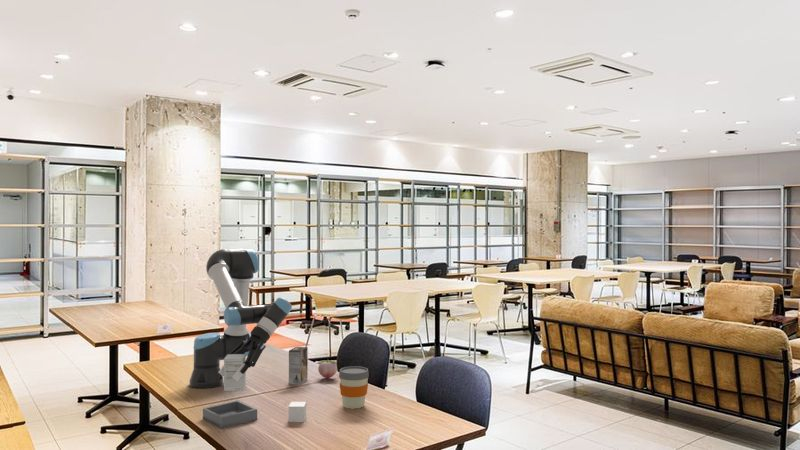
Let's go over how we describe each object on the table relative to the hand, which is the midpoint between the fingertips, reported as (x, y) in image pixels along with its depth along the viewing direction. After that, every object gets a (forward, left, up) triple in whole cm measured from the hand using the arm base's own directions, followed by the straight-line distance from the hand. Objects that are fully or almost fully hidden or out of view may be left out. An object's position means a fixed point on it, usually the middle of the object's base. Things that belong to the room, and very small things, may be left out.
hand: (227, 376), depth 221 cm
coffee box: (-27, +51, -17) cm, 60 cm away
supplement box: (0, +3, -5) cm, 6 cm away
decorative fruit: (-22, +65, -17) cm, 71 cm away
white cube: (+17, +20, -17) cm, 32 cm away
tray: (-1, +1, -17) cm, 17 cm away
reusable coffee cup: (+19, +47, -17) cm, 54 cm away
